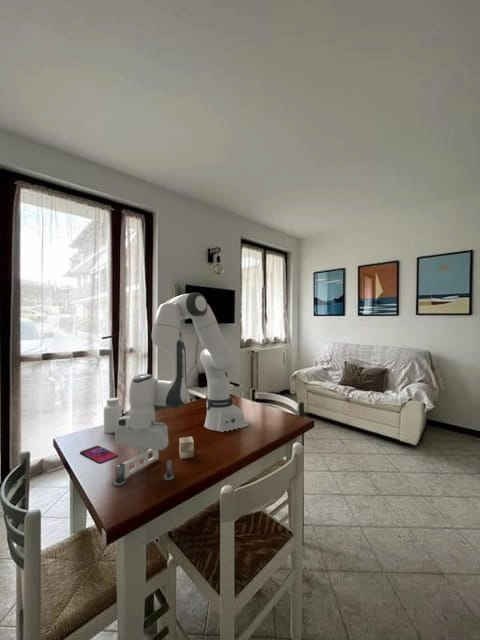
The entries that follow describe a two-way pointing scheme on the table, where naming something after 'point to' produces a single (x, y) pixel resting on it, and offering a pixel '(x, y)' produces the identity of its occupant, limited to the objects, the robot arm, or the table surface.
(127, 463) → the gate
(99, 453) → the smartphone
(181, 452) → the beech block
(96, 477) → the table surface
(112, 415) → the pill bottle
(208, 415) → the robot arm
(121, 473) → the hinge post
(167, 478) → the post
